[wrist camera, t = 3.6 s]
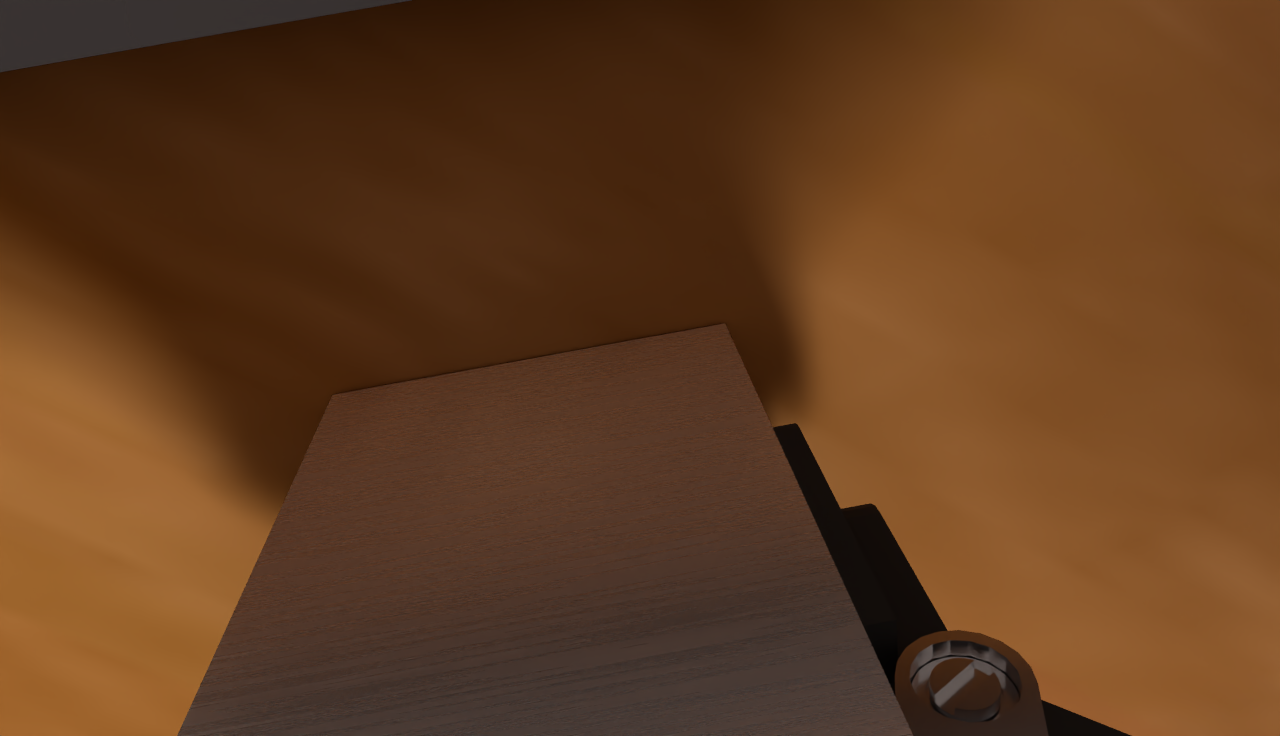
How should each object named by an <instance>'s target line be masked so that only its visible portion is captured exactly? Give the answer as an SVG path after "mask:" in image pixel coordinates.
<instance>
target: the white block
mask: <svg viewBox="0 0 1280 736" xmlns="http://www.w3.org/2000/svg"><path fill="white" fill-rule="evenodd" d="M177 736H913V734H912V732H911V730H910V728H909V725H908V723H907V721H906V719H905V717H904V714H903V712H902V710H901V708H900V706H899V703H898V701H897V699H896V697H895V695H894V692H893V690H892V688H891V686H890V684H889V682H888V679H887V677H886V675H885V673H884V671H883V668H882V666H881V664H880V662H879V660H878V657H877V655H876V653H875V651H874V649H873V646H872V644H871V642H870V640H869V638H868V636H867V633H866V631H865V629H864V627H863V625H862V622H861V620H860V618H859V616H858V614H857V611H856V609H855V607H854V605H853V603H852V600H851V598H850V596H849V594H848V592H847V590H846V587H845V585H844V583H843V581H842V579H841V576H840V574H839V572H838V570H837V568H836V565H835V563H834V561H833V559H832V557H831V554H830V552H829V550H828V548H827V546H826V544H825V541H824V539H823V537H822V535H821V533H820V530H819V528H818V526H817V524H816V522H815V519H814V517H813V515H812V513H811V511H810V508H809V506H808V504H807V502H806V500H805V498H804V495H803V493H802V491H801V489H800V487H799V484H798V482H797V480H796V478H795V476H794V473H793V471H792V469H791V467H790V465H789V462H788V460H787V458H786V456H785V454H784V452H783V449H782V447H781V445H780V443H779V441H778V438H777V436H776V434H775V432H774V430H773V427H772V425H771V423H770V421H769V419H768V416H767V414H766V412H765V410H764V408H763V405H762V403H761V401H760V399H759V397H758V395H757V392H756V390H755V388H754V386H753V384H752V381H751V379H750V377H749V375H748V373H747V370H746V368H745V366H744V364H743V362H742V359H741V357H740V355H739V353H738V351H737V349H736V346H735V344H734V342H733V340H732V338H731V335H730V333H729V331H728V329H727V327H726V324H725V323H724V324H719V325H713V326H708V327H702V328H697V329H691V330H686V331H680V332H675V333H669V334H664V335H658V336H653V337H647V338H642V339H636V340H631V341H625V342H620V343H614V344H609V345H603V346H598V347H592V348H587V349H581V350H576V351H570V352H565V353H559V354H554V355H548V356H543V357H537V358H532V359H527V360H521V361H516V362H510V363H505V364H499V365H494V366H488V367H483V368H477V369H472V370H466V371H461V372H455V373H450V374H444V375H439V376H433V377H428V378H422V379H417V380H411V381H406V382H400V383H395V384H389V385H384V386H378V387H373V388H367V389H362V390H356V391H351V392H345V393H340V394H335V395H332V397H331V399H330V402H329V404H328V406H327V408H326V410H325V413H324V415H323V417H322V419H321V421H320V424H319V426H318V428H317V430H316V432H315V435H314V437H313V439H312V441H311V443H310V445H309V448H308V450H307V452H306V454H305V456H304V459H303V461H302V463H301V465H300V467H299V470H298V472H297V474H296V476H295V478H294V481H293V483H292V485H291V487H290V489H289V492H288V494H287V496H286V498H285V500H284V503H283V505H282V507H281V509H280V511H279V514H278V516H277V518H276V520H275V522H274V525H273V527H272V529H271V531H270V533H269V536H268V538H267V540H266V542H265V544H264V547H263V549H262V551H261V553H260V555H259V558H258V560H257V562H256V564H255V566H254V569H253V571H252V573H251V575H250V577H249V579H248V582H247V584H246V586H245V588H244V590H243V593H242V595H241V597H240V599H239V601H238V604H237V606H236V608H235V610H234V612H233V615H232V617H231V619H230V621H229V623H228V626H227V628H226V630H225V632H224V634H223V637H222V639H221V641H220V643H219V645H218V648H217V650H216V652H215V654H214V656H213V659H212V661H211V663H210V665H209V667H208V670H207V672H206V674H205V676H204V678H203V681H202V683H201V685H200V687H199V689H198V692H197V694H196V696H195V698H194V700H193V703H192V705H191V707H190V709H189V711H188V714H187V716H186V718H185V720H184V722H183V724H182V727H181V729H180V731H179V733H178V735H177Z"/></svg>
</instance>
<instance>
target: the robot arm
mask: <svg viewBox="0 0 1280 736" xmlns="http://www.w3.org/2000/svg"><path fill="white" fill-rule="evenodd" d="M773 430H774V432H775V434H776V436H777V438H778V441H779V443H780V445H781V447H782V449H783V452H784V454H785V456H786V458H787V460H788V462H789V465H790V467H791V469H792V471H793V473H794V476H795V478H796V480H797V482H798V484H799V487H800V489H801V491H802V493H803V495H804V498H805V500H806V502H807V504H808V506H809V508H810V511H811V513H812V515H813V517H814V519H815V522H816V524H817V526H818V528H819V530H820V533H821V535H822V537H823V539H824V541H825V544H826V546H827V548H828V550H829V552H830V554H831V557H832V559H833V561H834V563H835V565H836V568H837V570H838V572H839V574H840V576H841V579H842V581H843V583H844V585H845V587H846V590H847V592H848V594H849V596H850V598H851V600H852V603H853V605H854V607H855V609H856V611H857V614H858V616H859V618H860V620H861V622H862V625H863V627H864V629H865V631H866V633H867V636H868V638H869V640H870V642H871V644H872V646H873V649H874V651H875V653H876V655H877V657H878V660H879V662H880V664H881V666H882V668H883V671H884V673H885V675H886V677H887V679H888V682H889V684H890V686H891V688H892V690H893V692H894V695H895V697H896V699H897V701H898V703H899V706H900V708H901V710H902V712H903V714H904V717H905V719H906V721H907V723H908V725H909V728H910V730H911V732H912V734H913V736H1131V735H1128V734H1126V733H1123V732H1121V731H1118V730H1116V729H1113V728H1111V727H1108V726H1106V725H1103V724H1101V723H1098V722H1096V721H1093V720H1091V719H1088V718H1086V717H1083V716H1081V715H1078V714H1076V713H1073V712H1071V711H1068V710H1066V709H1063V708H1061V707H1058V706H1056V705H1053V704H1051V703H1048V702H1046V701H1043V700H1041V697H1040V692H1039V687H1038V683H1037V680H1036V678H1035V676H1034V673H1033V671H1032V669H1031V667H1030V665H1029V664H1028V663H1027V662H1026V661H1025V660H1024V659H1023V658H1022V656H1021V655H1020V654H1019V653H1018V652H1016V651H1015V650H1013V649H1012V648H1010V647H1009V646H1007V645H1006V644H1004V643H1003V642H1001V641H999V640H996V639H994V638H991V637H988V636H986V635H983V634H980V633H974V632H968V631H961V630H955V631H947V629H946V627H945V625H944V624H943V622H942V620H941V618H940V617H939V615H938V613H937V611H936V610H935V608H934V606H933V604H932V603H931V601H930V599H929V597H928V596H927V594H926V592H925V590H924V589H923V587H922V585H921V583H920V582H919V580H918V578H917V576H916V575H915V573H914V571H913V569H912V568H911V566H910V564H909V563H908V561H907V559H906V557H905V556H904V554H903V552H902V550H901V549H900V547H899V545H898V543H897V542H896V540H895V538H894V536H893V535H892V533H891V531H890V529H889V528H888V526H887V524H886V522H885V521H884V519H883V517H882V515H881V514H880V512H879V511H878V509H877V508H876V506H875V505H873V504H865V505H860V506H855V507H849V508H844V509H840V507H839V505H838V503H837V501H836V499H835V497H834V495H833V493H832V491H831V489H830V487H829V485H828V483H827V481H826V479H825V477H824V475H823V473H822V471H821V469H820V467H819V465H818V463H817V461H816V459H815V457H814V456H813V454H812V452H811V450H810V448H809V446H808V444H807V442H806V440H805V438H804V436H803V434H802V432H801V430H800V428H799V426H798V425H797V424H796V423H794V424H789V425H784V426H778V427H773Z"/></svg>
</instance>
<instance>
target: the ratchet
mask: <svg viewBox="0 0 1280 736" xmlns="http://www.w3.org/2000/svg"><path fill="white" fill-rule="evenodd" d="M405 1H410V0H0V72H4V71H10V70H16V69H22V68H27V67H33V66H39V65H44V64H50V63H56V62H62V61H67V60H73V59H79V58H84V57H90V56H96V55H102V54H107V53H113V52H119V51H124V50H130V49H136V48H142V47H147V46H153V45H159V44H164V43H170V42H176V41H182V40H187V39H193V38H199V37H204V36H210V35H216V34H222V33H227V32H233V31H239V30H244V29H250V28H256V27H262V26H267V25H273V24H279V23H284V22H290V21H296V20H302V19H307V18H313V17H319V16H324V15H330V14H336V13H342V12H347V11H353V10H359V9H364V8H370V7H376V6H382V5H387V4H393V3H399V2H405Z"/></svg>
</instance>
